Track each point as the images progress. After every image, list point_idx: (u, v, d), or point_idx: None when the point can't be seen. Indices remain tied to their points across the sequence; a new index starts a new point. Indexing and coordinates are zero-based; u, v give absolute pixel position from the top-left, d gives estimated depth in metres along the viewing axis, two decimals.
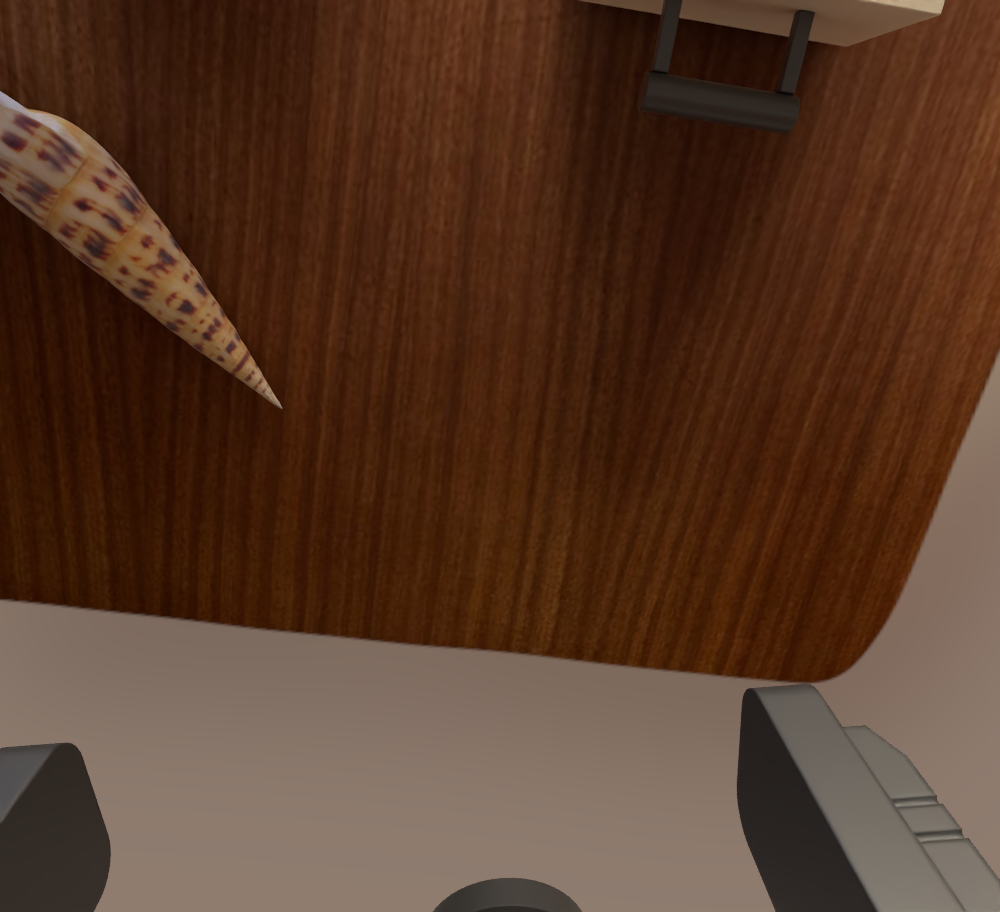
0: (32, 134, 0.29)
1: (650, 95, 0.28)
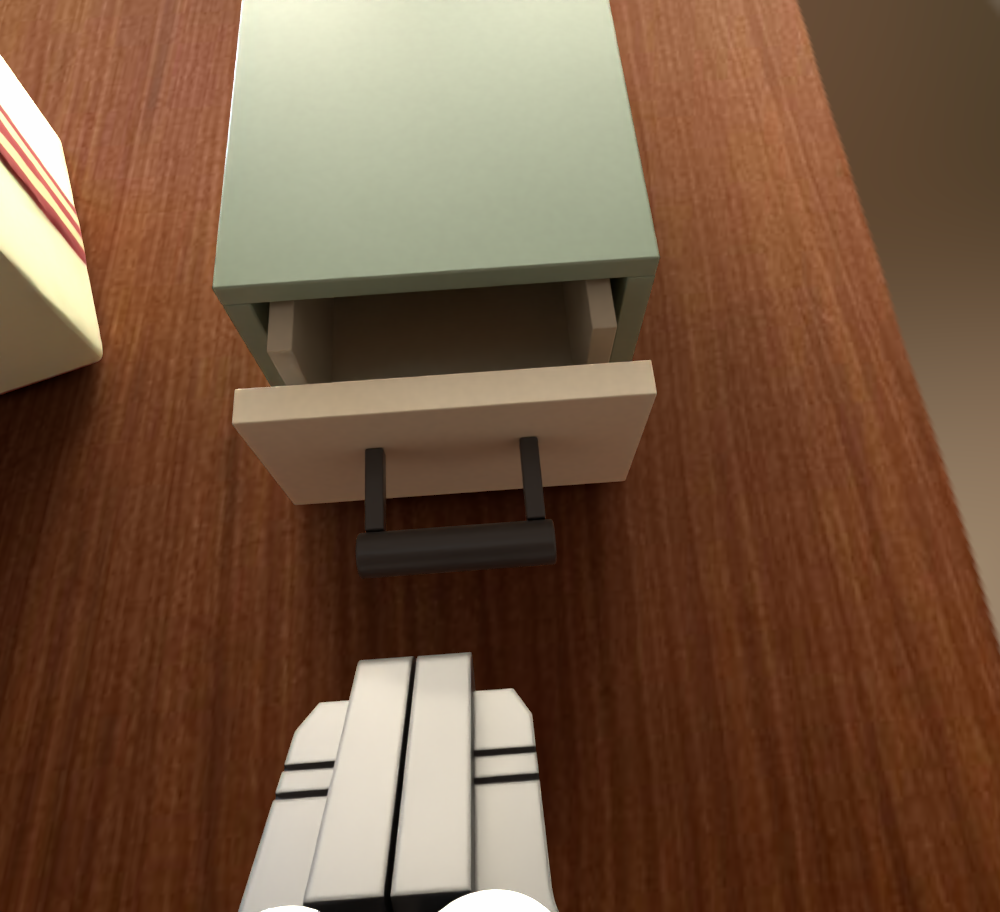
0: None
1: (361, 554, 0.22)
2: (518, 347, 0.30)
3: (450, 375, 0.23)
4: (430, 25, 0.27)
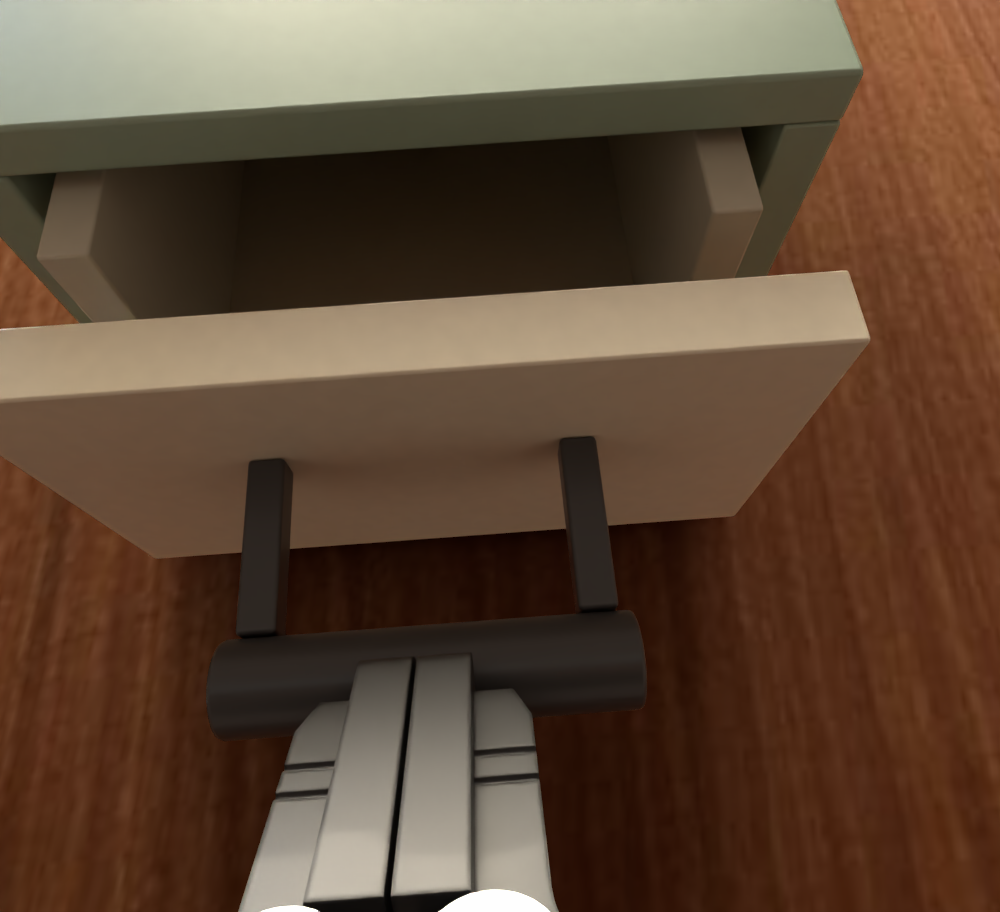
0: None
1: (217, 696, 0.10)
2: (545, 288, 0.17)
3: (415, 303, 0.10)
4: None
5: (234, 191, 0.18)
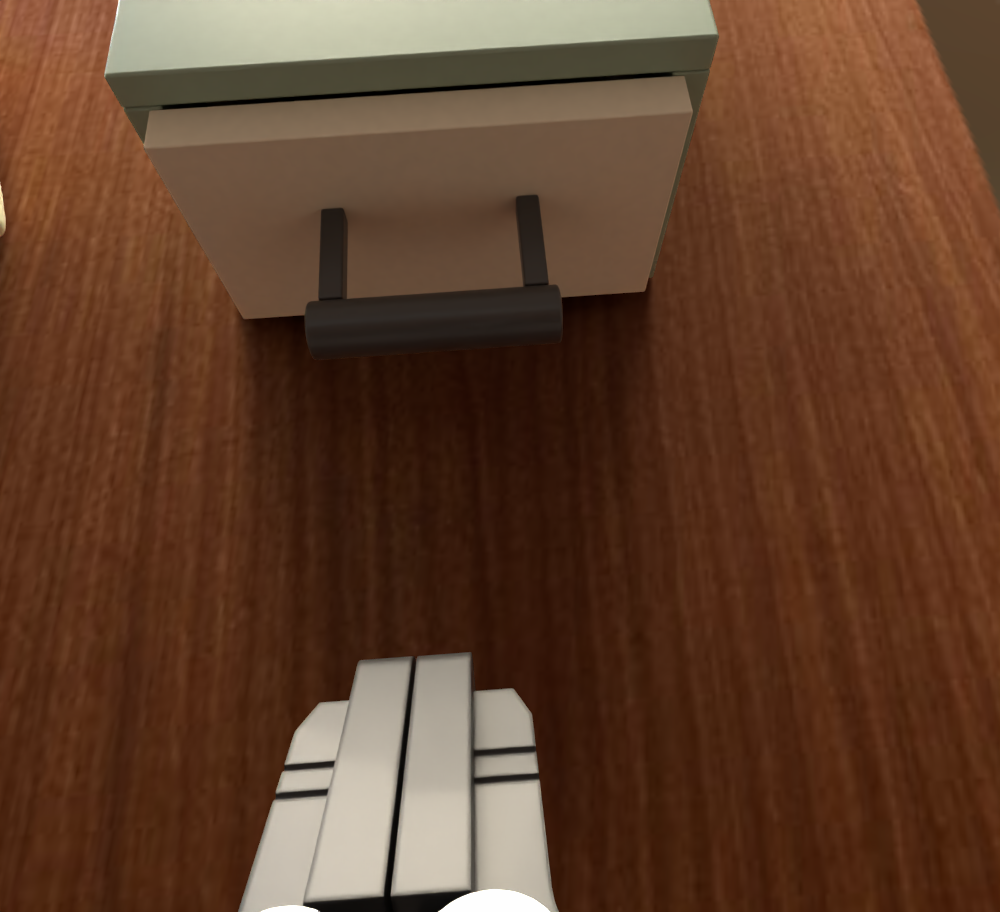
0: None
1: (311, 321, 0.17)
2: None
3: (426, 93, 0.17)
4: None
5: None
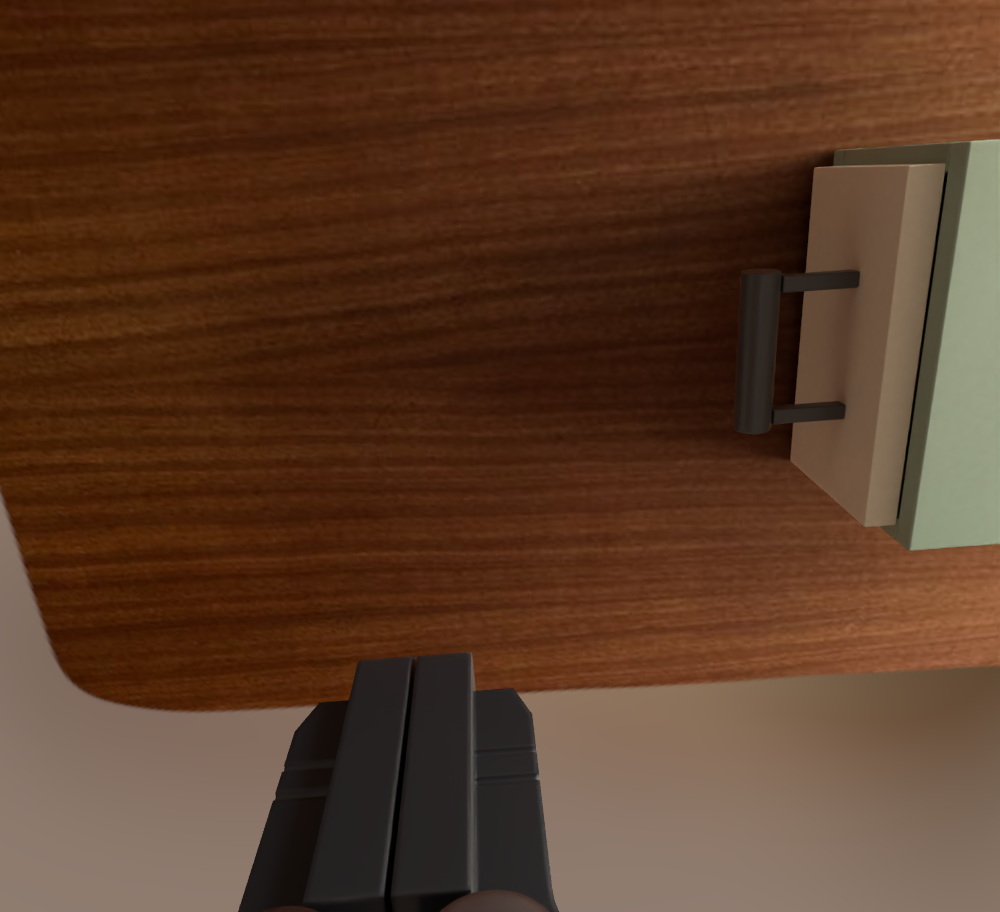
0: None
1: (762, 279, 0.26)
2: None
3: (916, 365, 0.26)
4: None
5: None
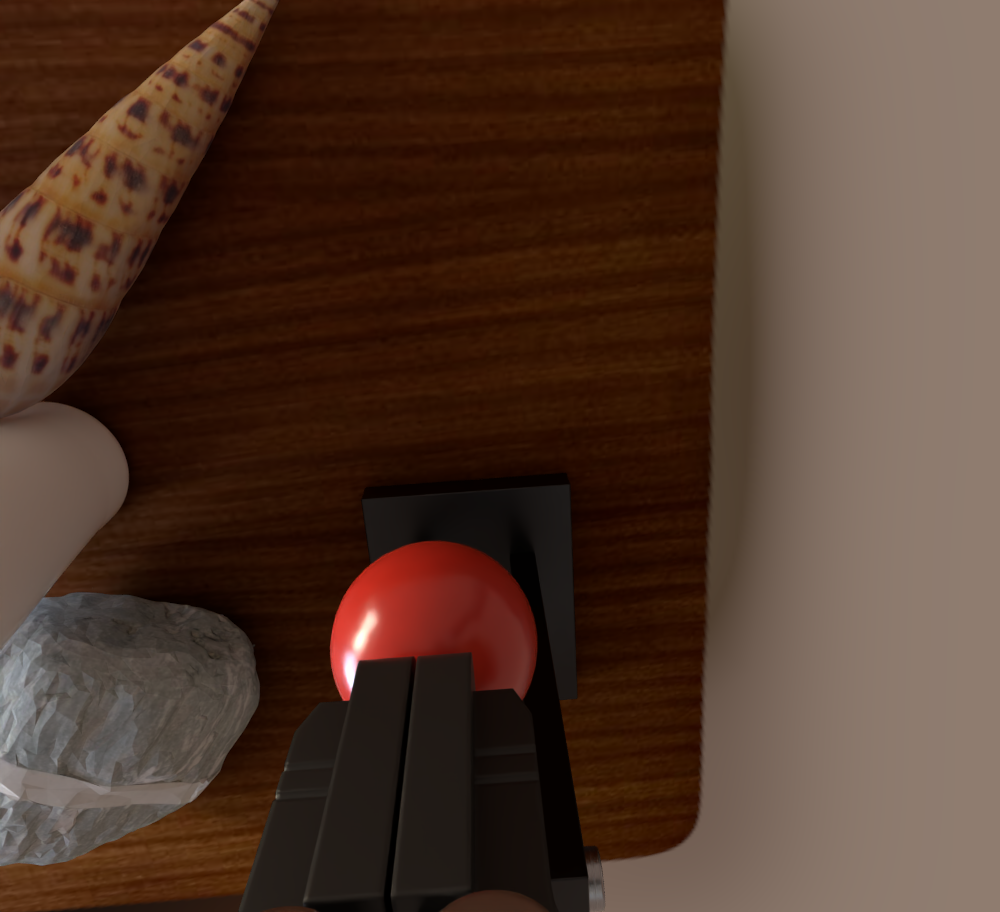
0: None
1: None
2: None
3: None
4: None
5: None
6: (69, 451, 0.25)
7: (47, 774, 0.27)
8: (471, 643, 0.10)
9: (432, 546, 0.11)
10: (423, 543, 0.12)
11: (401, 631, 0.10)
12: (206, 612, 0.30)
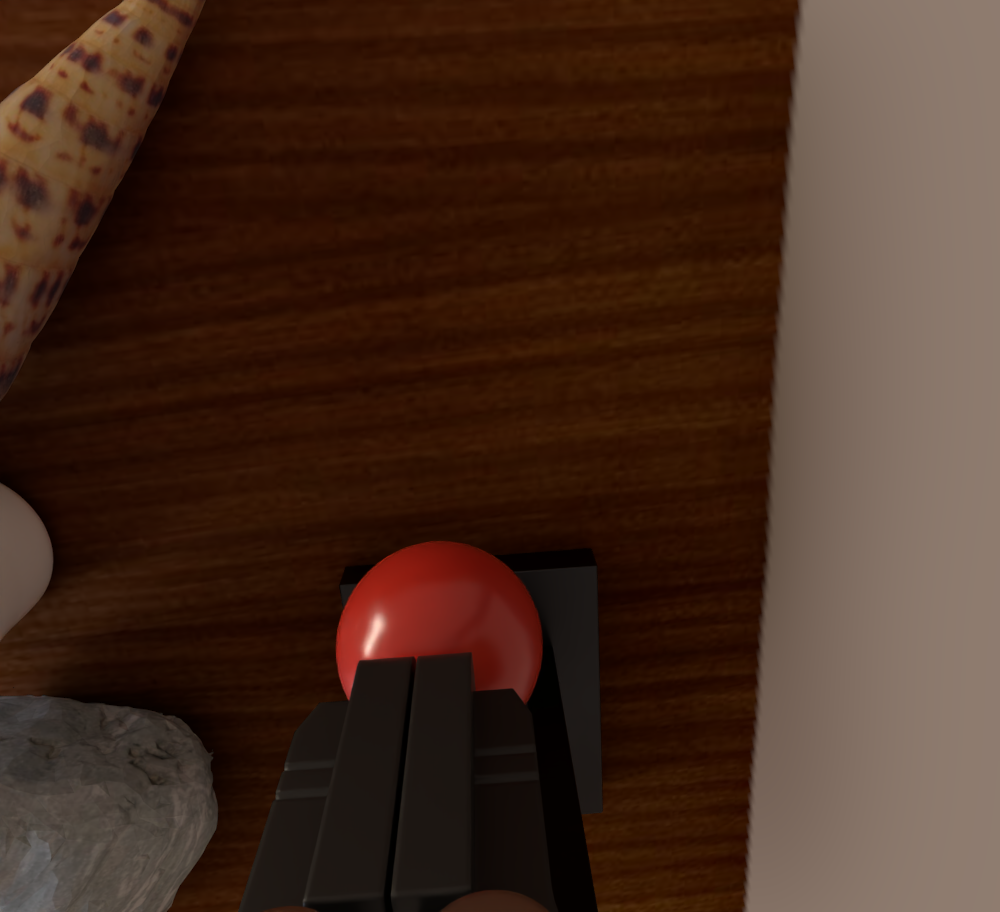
0: None
1: None
2: None
3: None
4: None
5: None
6: None
7: None
8: (474, 583, 0.11)
9: None
10: None
11: (408, 573, 0.11)
12: (151, 718, 0.24)
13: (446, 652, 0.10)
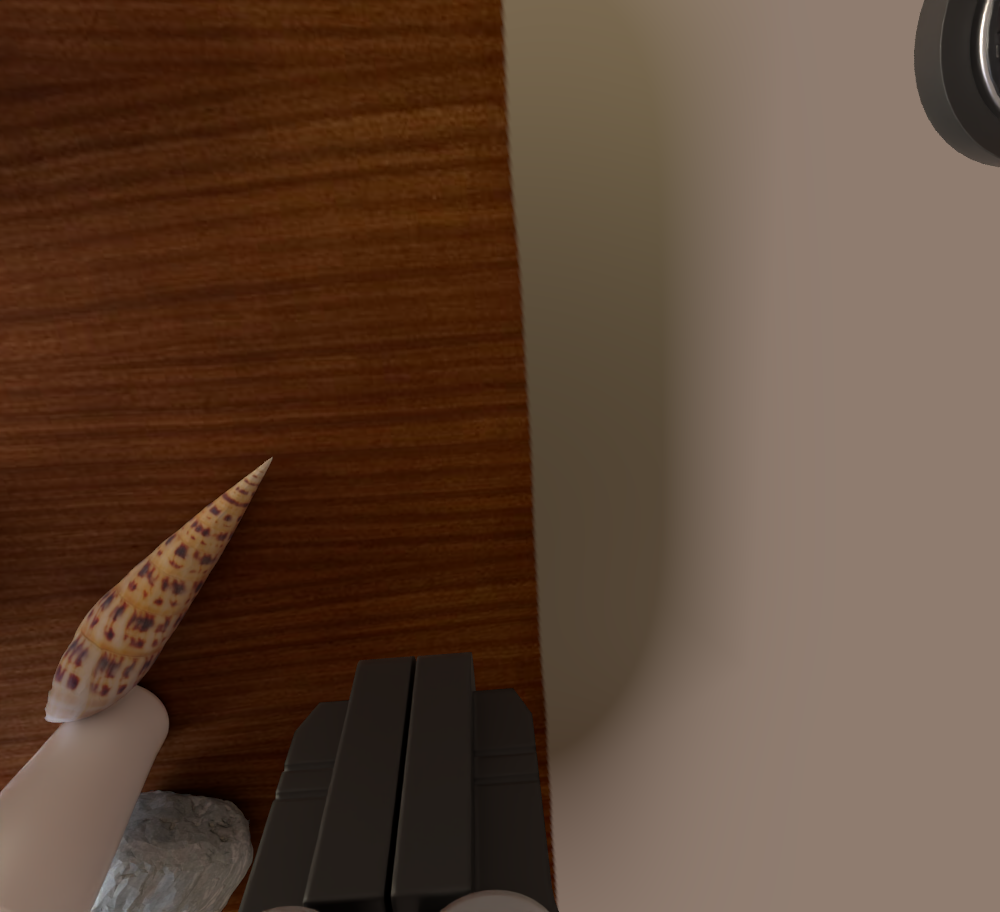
0: (65, 670, 0.38)
1: None
2: None
3: None
4: None
5: None
6: (136, 728, 0.41)
7: None
8: None
9: None
10: None
11: None
12: (218, 804, 0.46)
13: None
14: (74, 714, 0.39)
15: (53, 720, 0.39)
